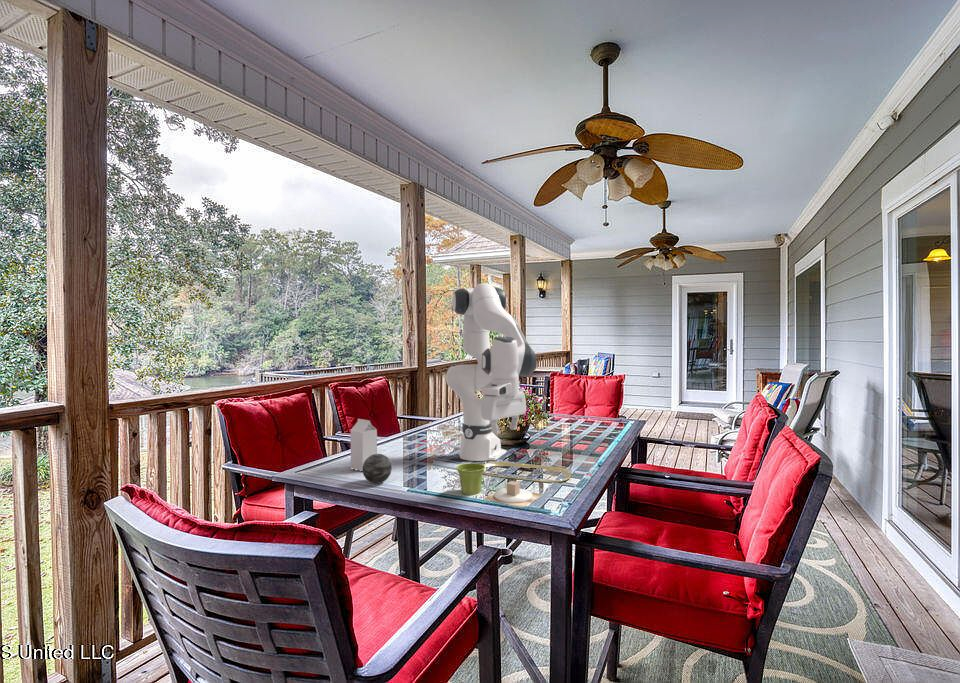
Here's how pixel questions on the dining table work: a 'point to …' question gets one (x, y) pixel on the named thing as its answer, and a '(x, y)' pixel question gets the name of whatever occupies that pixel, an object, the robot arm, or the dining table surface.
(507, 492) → the lid
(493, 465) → the oval gold ring
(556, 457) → the dining table surface
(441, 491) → the dining table surface
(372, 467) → the decorative stone
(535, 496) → the mat
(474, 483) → the plant pot
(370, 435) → the milk carton
